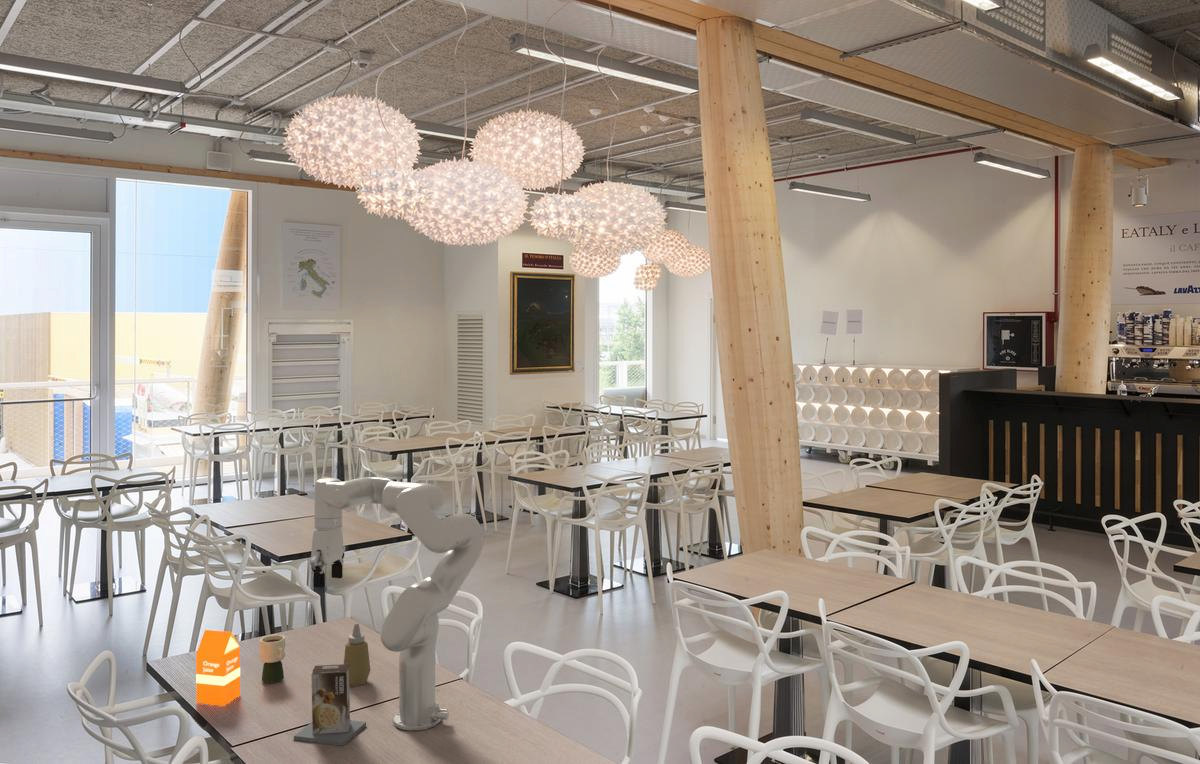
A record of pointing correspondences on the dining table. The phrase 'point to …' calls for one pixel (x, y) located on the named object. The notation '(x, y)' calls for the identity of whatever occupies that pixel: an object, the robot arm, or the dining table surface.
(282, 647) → the character mug
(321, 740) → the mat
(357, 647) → the squeeze bottle
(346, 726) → the coffee box
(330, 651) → the dining table surface
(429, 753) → the dining table surface
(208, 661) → the orange juice
